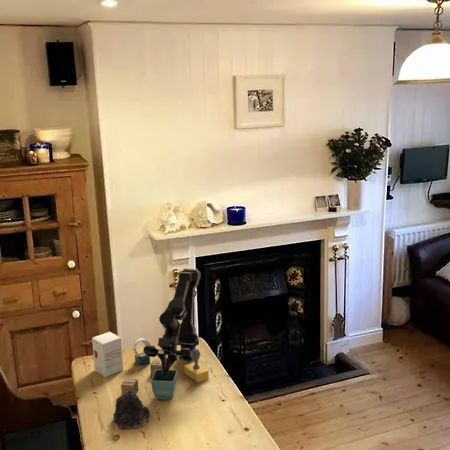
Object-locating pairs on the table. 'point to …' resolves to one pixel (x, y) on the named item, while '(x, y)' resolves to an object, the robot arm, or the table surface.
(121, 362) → the supplement box
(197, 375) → the rubber stamp
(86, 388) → the table surface
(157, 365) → the numbered block seven
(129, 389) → the numbered block one
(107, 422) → the table surface
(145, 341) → the watch
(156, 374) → the flower pot
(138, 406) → the crystal cluster
